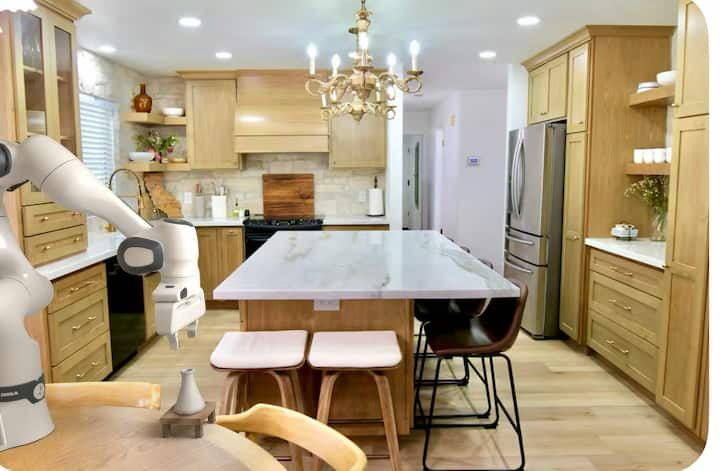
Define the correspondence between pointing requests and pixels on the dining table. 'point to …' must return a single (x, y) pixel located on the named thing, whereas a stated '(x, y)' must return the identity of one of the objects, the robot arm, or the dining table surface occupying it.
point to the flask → (188, 395)
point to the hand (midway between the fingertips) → (183, 343)
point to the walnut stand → (188, 419)
